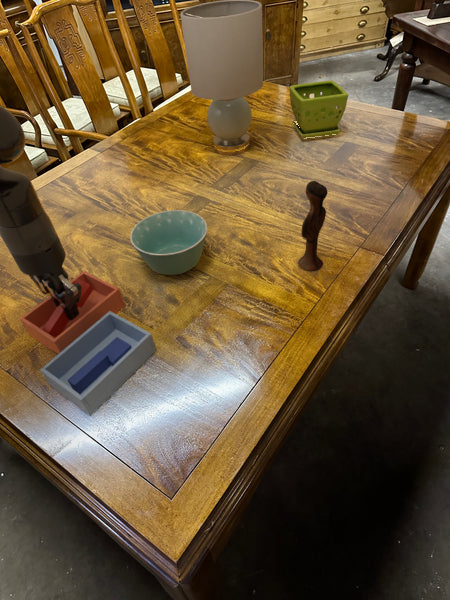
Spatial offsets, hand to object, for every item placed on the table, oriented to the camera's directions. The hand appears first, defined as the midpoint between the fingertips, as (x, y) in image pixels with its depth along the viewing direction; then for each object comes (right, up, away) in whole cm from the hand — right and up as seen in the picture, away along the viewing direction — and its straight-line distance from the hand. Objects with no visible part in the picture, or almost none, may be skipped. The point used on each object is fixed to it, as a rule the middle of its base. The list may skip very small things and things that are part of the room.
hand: (70, 314), depth 78 cm
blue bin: (+8, -9, -7) cm, 14 cm away
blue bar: (+8, -9, -7) cm, 14 cm away
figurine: (+47, +10, +8) cm, 48 cm away
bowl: (+18, +11, +12) cm, 24 cm away
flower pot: (+57, +54, +52) cm, 94 cm away
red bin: (+1, -1, +2) cm, 3 cm away
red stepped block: (0, +1, 0) cm, 1 cm away
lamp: (+31, +49, +50) cm, 76 cm away
